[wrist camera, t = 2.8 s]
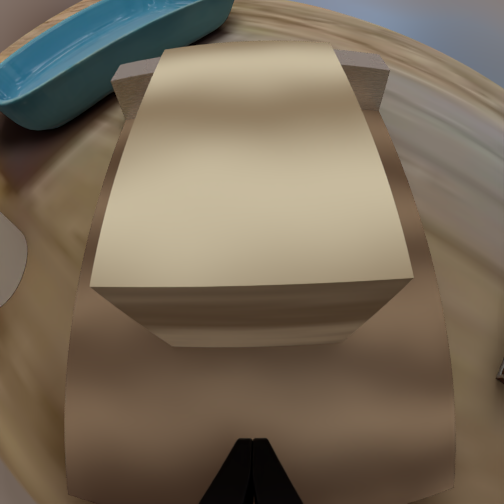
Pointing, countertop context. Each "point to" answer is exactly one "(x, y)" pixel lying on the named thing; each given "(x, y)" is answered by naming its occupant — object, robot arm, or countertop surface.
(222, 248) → the maple block
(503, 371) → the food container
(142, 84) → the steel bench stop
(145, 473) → the walnut board
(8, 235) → the cylindrical container
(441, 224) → the countertop surface
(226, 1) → the casserole dish
